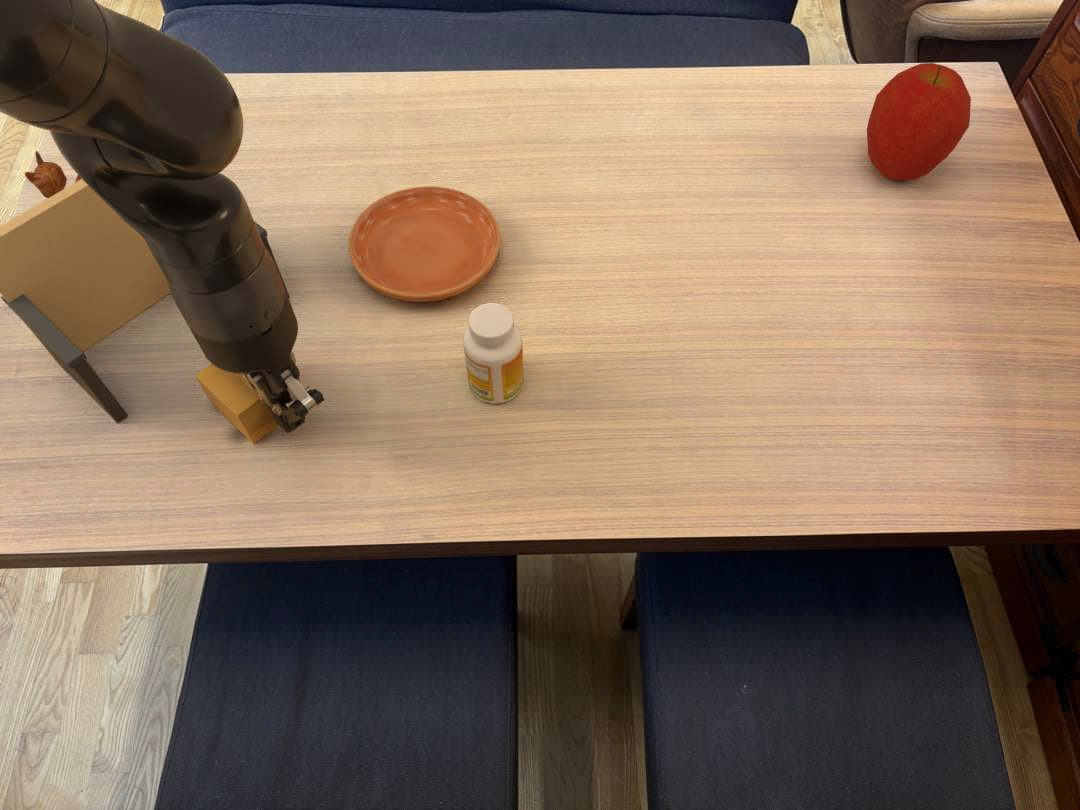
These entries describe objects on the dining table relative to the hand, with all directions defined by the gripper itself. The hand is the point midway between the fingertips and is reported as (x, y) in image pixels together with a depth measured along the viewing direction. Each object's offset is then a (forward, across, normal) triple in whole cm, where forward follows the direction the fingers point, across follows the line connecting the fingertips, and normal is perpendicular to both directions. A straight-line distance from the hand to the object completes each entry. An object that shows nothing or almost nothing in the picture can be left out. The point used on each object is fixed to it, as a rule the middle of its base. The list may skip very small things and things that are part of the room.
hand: (292, 422), depth 78 cm
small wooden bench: (+2, -19, 0) cm, 19 cm away
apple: (+3, +23, +70) cm, 74 cm away
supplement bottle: (+2, +10, +17) cm, 20 cm away
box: (+2, -6, 0) cm, 6 cm away
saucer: (+2, -8, +24) cm, 25 cm away
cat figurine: (+2, -38, +5) cm, 38 cm away
